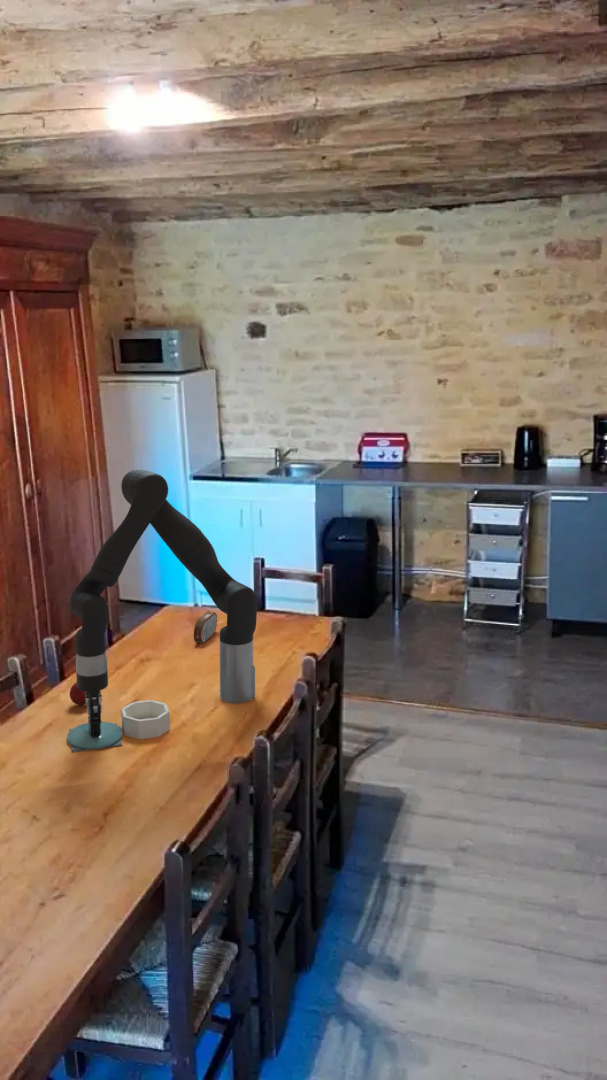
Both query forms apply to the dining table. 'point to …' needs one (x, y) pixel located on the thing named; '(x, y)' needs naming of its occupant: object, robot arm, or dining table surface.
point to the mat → (92, 749)
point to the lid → (83, 739)
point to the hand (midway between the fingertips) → (94, 732)
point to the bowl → (145, 719)
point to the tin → (205, 627)
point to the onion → (77, 695)
